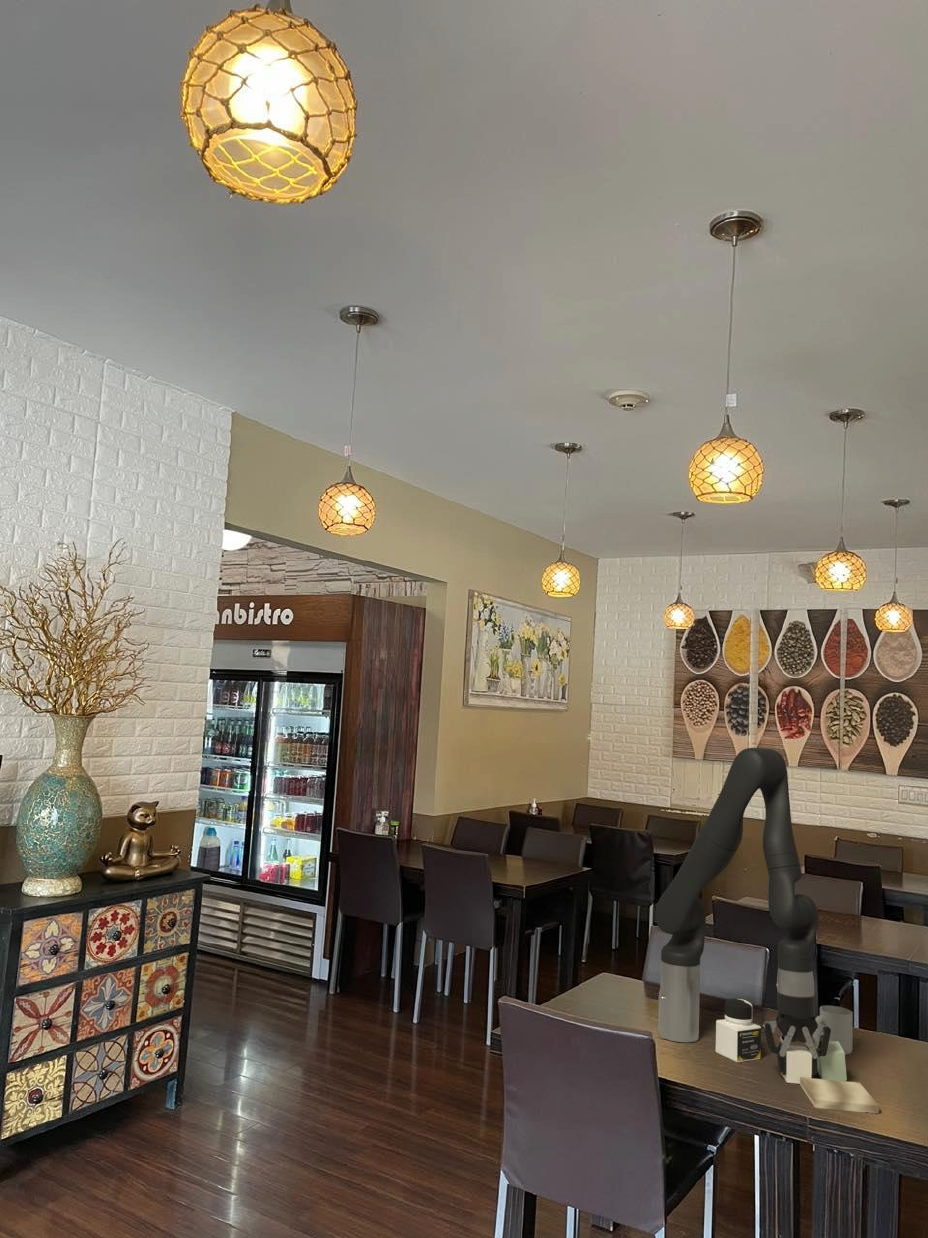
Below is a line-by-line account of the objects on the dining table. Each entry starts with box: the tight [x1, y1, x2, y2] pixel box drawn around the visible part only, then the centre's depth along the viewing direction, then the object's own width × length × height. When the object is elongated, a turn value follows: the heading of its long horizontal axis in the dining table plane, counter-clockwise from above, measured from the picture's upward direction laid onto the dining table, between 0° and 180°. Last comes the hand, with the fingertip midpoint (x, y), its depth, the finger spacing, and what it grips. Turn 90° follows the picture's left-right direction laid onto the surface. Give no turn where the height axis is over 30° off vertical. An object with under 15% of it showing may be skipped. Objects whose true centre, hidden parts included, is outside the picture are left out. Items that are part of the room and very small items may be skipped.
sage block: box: [814, 1041, 848, 1082], centre depth 199 cm, size 5×5×6 cm
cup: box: [812, 1005, 854, 1056], centre depth 218 cm, size 7×10×9 cm
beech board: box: [799, 1077, 880, 1114], centre depth 188 cm, size 12×12×2 cm
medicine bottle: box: [715, 998, 762, 1063], centre depth 211 cm, size 7×7×12 cm
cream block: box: [780, 1044, 813, 1085], centre depth 197 cm, size 5×5×6 cm
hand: (797, 1074), depth 196 cm, fingers closed on cream block, 5 cm apart
